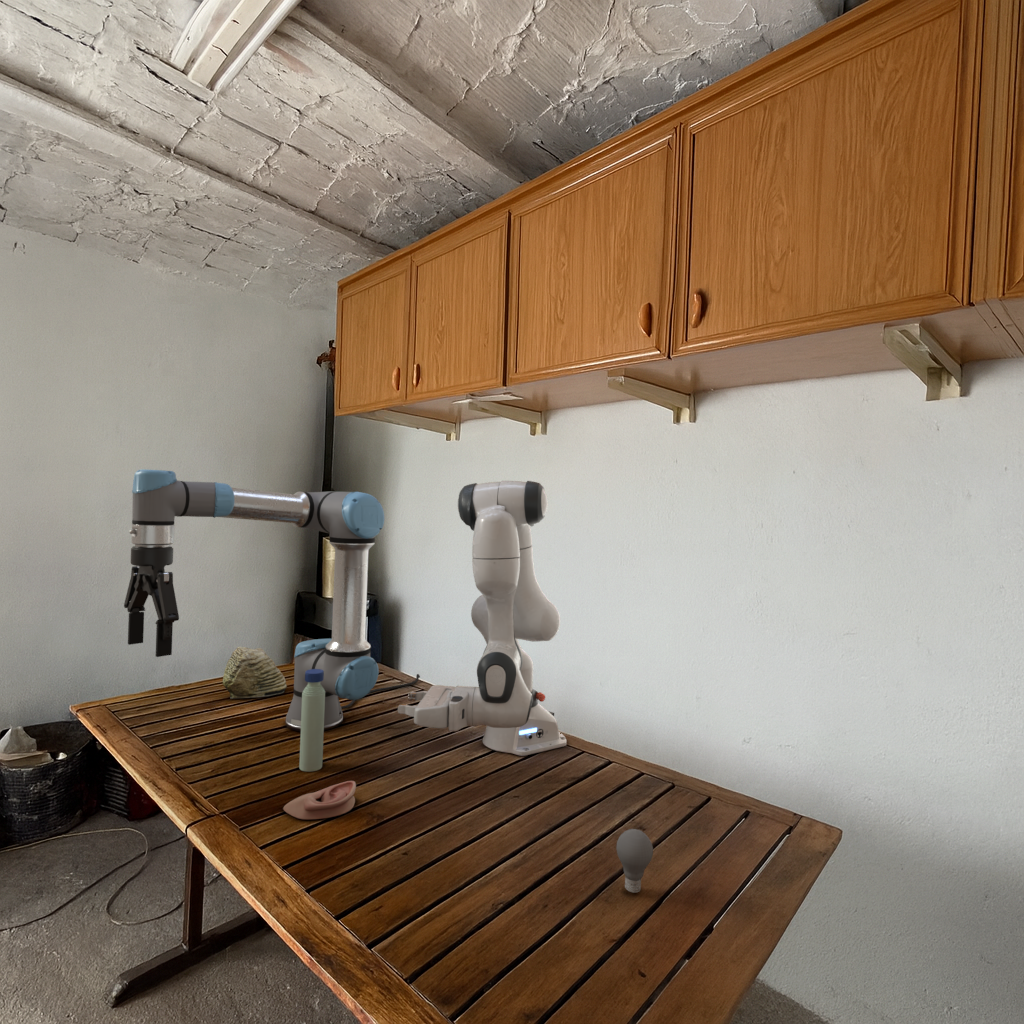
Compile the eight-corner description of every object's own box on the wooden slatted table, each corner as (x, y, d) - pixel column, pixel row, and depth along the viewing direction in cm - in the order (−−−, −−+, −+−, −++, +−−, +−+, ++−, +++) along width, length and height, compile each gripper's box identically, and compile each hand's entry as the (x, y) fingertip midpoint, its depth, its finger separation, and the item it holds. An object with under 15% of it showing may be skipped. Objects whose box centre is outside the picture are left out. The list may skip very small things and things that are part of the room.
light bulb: (610, 879, 108) (613, 822, 108) (644, 879, 109) (647, 822, 109) (619, 902, 102) (622, 840, 102) (655, 901, 103) (658, 840, 103)
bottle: (320, 761, 151) (323, 669, 151) (324, 769, 147) (327, 674, 146) (297, 764, 149) (301, 671, 149) (301, 773, 145) (304, 676, 144)
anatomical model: (275, 795, 125) (305, 771, 136) (274, 815, 125) (304, 789, 136) (337, 804, 122) (363, 779, 133) (336, 825, 122) (362, 798, 133)
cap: (321, 676, 150) (322, 668, 150) (325, 681, 147) (325, 672, 147) (303, 678, 149) (303, 669, 149) (306, 683, 145) (306, 674, 145)
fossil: (218, 695, 195) (220, 647, 195) (278, 685, 208) (279, 640, 207) (228, 703, 189) (230, 653, 188) (289, 692, 201) (290, 645, 201)
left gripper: (108, 541, 134) (105, 641, 134) (159, 551, 118) (155, 664, 118) (146, 540, 140) (143, 636, 140) (200, 550, 124) (196, 657, 124)
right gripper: (469, 680, 157) (414, 677, 158) (455, 705, 137) (392, 701, 138) (468, 705, 157) (413, 702, 158) (454, 734, 137) (391, 730, 138)
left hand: (149, 649), depth 129 cm, fingers open, 13 cm apart
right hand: (403, 702), depth 148 cm, fingers open, 8 cm apart
